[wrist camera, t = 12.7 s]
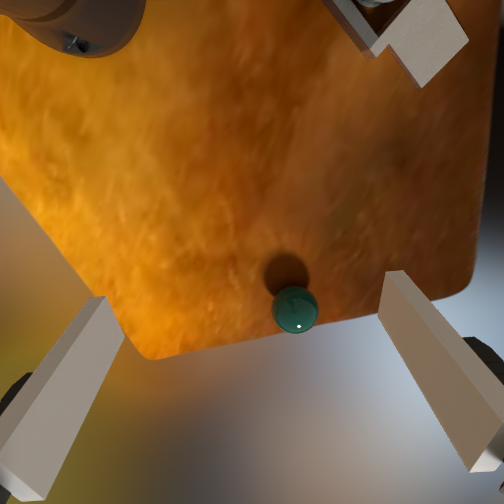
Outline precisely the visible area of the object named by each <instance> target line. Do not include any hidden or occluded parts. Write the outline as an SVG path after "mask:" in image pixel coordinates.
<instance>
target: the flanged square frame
mask: <svg viewBox="0 0 504 504" xmlns="http://www.w3.org/2000/svg"><path fill="white" fill-rule="evenodd" d="M321 1H322V2H323V3H324V4H325V6H326V7H327V8H328V10H329V11H330V12H331V13H332V15H333V16H334V17H335V19H336V20H337V21H338V22H339V24H340V25H341V26H342V28H343V29H344V30H345V31H346V33H347V34H348V35H349V37H350V38H351V39H352V40H353V42H354V43H355V44H356V46H357V47H358V48H359V49H360V51H361V52H362V53H363V54H364V56H365V57H366V58H367V60H369V59H373V58H377V56H378V55H379V54H380V53H381V52H382V51H383V50H384V48H385V47H386V46H387V48H388V49H389V51H390V52H391V53H392V55H393V56H394V57H395V59H396V60H397V61H398V63H399V64H400V65H401V67H402V68H403V70H404V71H405V72H406V74H407V75H408V76H409V78H410V79H411V80H412V82H413V83H414V85H415V86H416V87H417V88H422V87H423V86H424V85H425V84H426V83H427V82H428V81H429V80H430V79H431V78H432V77H433V76H434V75H435V74H436V73H437V72H438V71H439V70H440V69H441V68H442V67H443V66H444V65H445V64H446V63H447V62H448V61H449V60H450V59H451V58H452V57H453V56H454V55H455V54H456V53H457V52H458V51H459V50H460V49H461V48H462V47H463V46H464V45H465V44H466V43H467V42H468V41H469V39H468V38H467V36H466V34H465V33H464V31H463V29H462V28H461V26H460V24H459V23H458V21H457V19H456V18H455V16H454V14H453V13H452V11H451V9H450V8H449V6H448V4H447V3H446V1H445V0H405V1H404V2H403V3H402V4H401V5H400V7H399V8H398V9H397V10H396V11H395V13H394V14H393V15H392V16H391V17H390V18H389V20H388V21H387V22H386V23H385V24H384V25H383V27H382V28H381V29H380V30H379V31H378V32H377V34H375V32H374V31H373V30H372V28H371V27H370V25H369V24H368V23H367V21H366V20H365V19H364V17H363V16H362V15H361V13H360V12H359V11H358V9H357V8H356V6H355V5H354V4H353V2H352V1H351V0H321Z"/></svg>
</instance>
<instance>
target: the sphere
mask: <svg viewBox="0 0 504 504" xmlns="http://www.w3.org/2000/svg"><path fill="white" fill-rule="evenodd" d="M271 313H272V316H273V320H274V321H275V323H276V324H277V325H278V327H279V328H281V329H282V330H284V331H285V332H288V333H292V334H299V333H303V332H306V331H308V330H309V329H310V328H312V327H313V325H314V324H315V323H316V321H317V318H318V314H319V307H318V302H317V300H316V298H315V297H314V295H313V294H312V293H311V292H310V291H309V290H307V289H306V288H303V287H300V286H288V287H285V288H283V289H281V290H280V291H279V292H278V293H277V294H276V295H275V297H274V299H273V301H272V306H271Z"/></svg>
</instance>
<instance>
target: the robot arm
mask: <svg viewBox="0 0 504 504" xmlns="http://www.w3.org/2000/svg"><path fill="white" fill-rule="evenodd" d="M145 4H146V0H0V14H2V15H6V16H8V17H10V18H11V19H12V20H13V21H14V22H15V23H17V24H18V25H19V26H20V27H21V28H23V29H24V30H25V31H26V32H27V33H29V34H30V35H31V36H33V37H34V38H35V39H37V40H38V41H40V42H41V43H43V44H45V45H47V46H49V47H51V48H53V49H55V50H57V51H60V52H62V53H65V54H69V55H74V56H79V57H84V58H100V57H105V56H108V55H111V54H113V53H115V52H117V51H119V50H120V49H122V48H123V47H124V46H125V45H126V44H127V43H128V42H129V41H130V40H131V39H132V37H133V36H134V34H135V33H136V31H137V29H138V27H139V25H140V22H141V20H142V17H143V13H144V9H145ZM378 318H379V320H380V321H381V323H382V325H383V326H384V328H385V330H386V331H387V333H388V335H389V337H390V338H391V340H392V342H393V343H394V345H395V347H396V349H397V350H398V352H399V354H400V355H401V357H402V359H403V360H404V362H405V364H406V366H407V367H408V369H409V371H410V372H411V374H412V376H413V378H414V379H415V381H416V383H417V384H418V386H419V388H420V390H421V391H422V393H423V395H424V396H425V398H426V400H427V402H428V403H429V405H430V407H431V408H432V410H433V412H434V413H435V415H436V417H437V419H438V420H439V422H440V424H441V425H442V427H443V429H444V431H445V432H446V434H447V436H448V437H449V439H450V441H451V442H452V444H453V446H454V448H455V449H456V451H457V453H458V454H459V456H460V458H461V460H462V461H463V463H464V465H465V466H466V468H467V470H468V471H469V472H483V471H495V470H496V469H497V467H498V466H499V465H500V464H501V462H502V461H503V462H504V361H503V360H502V359H501V358H500V357H499V356H498V355H497V354H496V353H495V352H494V350H493V349H492V348H490V347H489V346H488V345H486V344H485V343H482V342H481V341H480V340H478V339H477V338H475V337H464V338H462V337H461V336H460V335H459V334H458V333H457V332H456V330H455V329H454V328H453V327H452V326H451V325H450V324H449V323H448V321H447V320H446V319H445V318H444V317H443V316H442V315H441V313H440V312H439V311H438V310H437V309H436V308H435V307H434V305H433V304H432V303H431V302H430V301H429V300H428V299H427V297H426V296H425V295H424V294H423V293H422V292H421V291H420V289H419V288H418V287H417V286H416V285H415V284H414V283H413V281H412V280H411V279H410V278H409V277H408V276H407V275H406V273H405V272H404V271H403V270H401V271H390V272H386V274H385V280H384V285H383V290H382V295H381V301H380V306H379V311H378ZM124 337H125V336H124V334H123V332H122V330H121V328H120V326H119V324H118V321H117V319H116V317H115V315H114V313H113V311H112V309H111V306H110V304H109V302H108V300H107V298H106V296H101V297H90V298H89V299H88V301H87V302H86V303H85V305H84V306H83V307H82V309H81V310H80V311H79V313H78V314H77V315H76V317H75V318H74V319H73V320H72V322H71V323H70V325H69V326H68V327H67V328H66V330H65V331H64V333H63V334H62V335H61V337H60V338H59V339H58V340H57V342H56V343H55V344H54V346H53V347H52V349H51V350H50V351H49V352H48V354H47V355H46V357H45V358H44V359H43V360H42V362H41V363H40V364H39V366H38V367H37V368H36V370H35V371H34V372H31V373H26V374H25V375H24V376H23V377H22V378H21V379H19V380H18V381H17V382H16V383H15V384H13V385H12V387H11V388H10V389H9V390H8V391H7V393H6V394H5V395H4V397H3V398H2V399H1V402H0V504H6V502H7V500H8V499H9V497H10V495H11V494H12V495H13V496H15V497H16V498H17V499H18V500H20V501H21V502H22V501H37V500H45V499H46V497H47V494H48V493H49V490H50V488H51V486H52V484H53V482H54V480H55V478H56V476H57V474H58V472H59V470H60V468H61V466H62V464H63V462H64V460H65V458H66V456H67V454H68V451H69V450H70V448H71V446H72V444H73V441H74V439H75V437H76V435H77V433H78V431H79V429H80V427H81V425H82V423H83V421H84V419H85V417H86V415H87V413H88V411H89V408H90V407H91V405H92V403H93V401H94V399H95V397H96V394H97V392H98V390H99V388H100V386H101V384H102V382H103V380H104V378H105V376H106V374H107V372H108V370H109V368H110V366H111V364H112V362H113V360H114V358H115V356H116V354H117V352H118V350H119V348H120V346H121V344H122V342H123V339H124ZM499 492H501V493H503V494H504V482H503V483H502V484H501V487H500V489H499Z"/></svg>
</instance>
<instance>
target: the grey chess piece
mask: <svg viewBox="0 0 504 504" xmlns="http://www.w3.org/2000/svg"><path fill="white" fill-rule="evenodd" d="M356 1H357V2H358V3H359V4H360V5H362V6H364V7H370V8H371V7H376V6H379V5H381V4H382V3H385V2H390V1H393V0H356Z"/></svg>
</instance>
